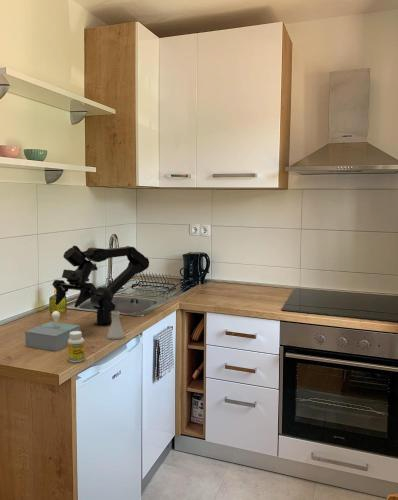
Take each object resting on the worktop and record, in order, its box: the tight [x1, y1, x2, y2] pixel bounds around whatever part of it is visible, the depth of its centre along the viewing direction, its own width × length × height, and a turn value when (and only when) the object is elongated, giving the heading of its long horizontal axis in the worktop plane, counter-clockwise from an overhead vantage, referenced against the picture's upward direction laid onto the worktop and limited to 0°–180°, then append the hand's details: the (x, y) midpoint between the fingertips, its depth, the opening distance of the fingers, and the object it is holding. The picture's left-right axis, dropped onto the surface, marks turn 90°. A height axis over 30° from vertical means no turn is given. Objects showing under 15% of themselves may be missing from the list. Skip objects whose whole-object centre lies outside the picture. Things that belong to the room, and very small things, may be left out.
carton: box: [24, 325, 81, 352], centre depth 171 cm, size 14×14×6 cm
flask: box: [106, 311, 126, 341], centre depth 178 cm, size 7×7×10 cm
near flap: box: [39, 310, 81, 332], centre depth 174 cm, size 7×14×7 cm, turn 67°
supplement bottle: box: [67, 330, 86, 363], centre depth 154 cm, size 5×5×10 cm
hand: (65, 305), depth 177 cm, fingers open, 9 cm apart
